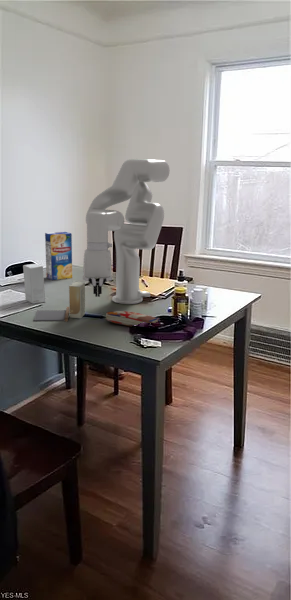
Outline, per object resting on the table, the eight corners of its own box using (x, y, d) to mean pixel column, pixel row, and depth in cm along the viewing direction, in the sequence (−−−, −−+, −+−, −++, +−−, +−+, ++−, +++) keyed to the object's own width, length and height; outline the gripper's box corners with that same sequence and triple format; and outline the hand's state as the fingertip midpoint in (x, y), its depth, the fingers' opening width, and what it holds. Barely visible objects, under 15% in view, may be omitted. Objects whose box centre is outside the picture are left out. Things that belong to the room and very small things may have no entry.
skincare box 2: (74, 313, 184) (74, 281, 181) (85, 313, 183) (85, 282, 180) (69, 317, 178) (68, 285, 175) (80, 318, 177) (80, 286, 174)
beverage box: (46, 277, 241) (44, 233, 235) (66, 275, 247) (65, 231, 241) (51, 280, 235) (50, 234, 229) (72, 277, 241) (71, 233, 235)
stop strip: (69, 310, 187) (69, 306, 187) (67, 321, 174) (67, 317, 173) (66, 310, 187) (66, 306, 187) (64, 321, 174) (64, 317, 173)
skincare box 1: (45, 302, 197) (44, 266, 193) (31, 304, 194) (30, 267, 190) (38, 297, 204) (36, 262, 200) (24, 299, 201) (22, 264, 197)
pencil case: (121, 317, 181) (121, 304, 180) (164, 328, 170) (164, 314, 169) (101, 324, 173) (101, 310, 171) (145, 336, 161) (145, 321, 160)
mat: (66, 311, 186) (66, 310, 186) (64, 320, 175) (64, 319, 174) (37, 311, 185) (37, 310, 185) (33, 321, 173) (33, 320, 173)
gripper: (117, 245, 179) (117, 293, 184) (76, 244, 177) (77, 293, 182) (118, 248, 172) (118, 298, 177) (76, 248, 170) (76, 298, 175)
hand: (97, 295), depth 179 cm, fingers closed
